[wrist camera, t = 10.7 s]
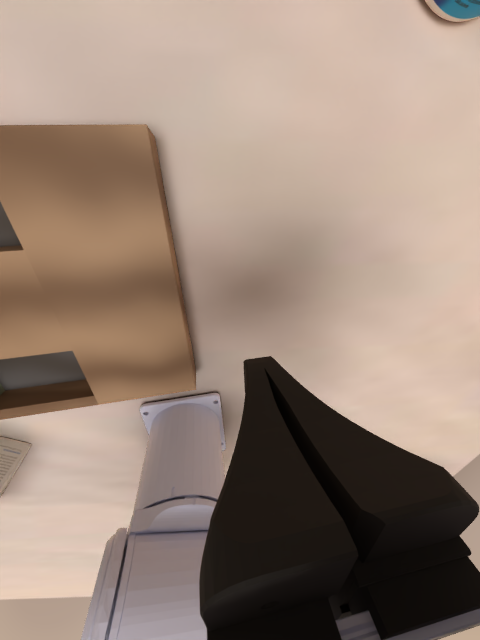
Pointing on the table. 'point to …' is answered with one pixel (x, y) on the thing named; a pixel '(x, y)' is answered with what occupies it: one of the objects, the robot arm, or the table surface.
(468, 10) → the beverage bottle
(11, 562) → the table surface
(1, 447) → the light bulb box
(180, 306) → the board
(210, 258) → the table surface
